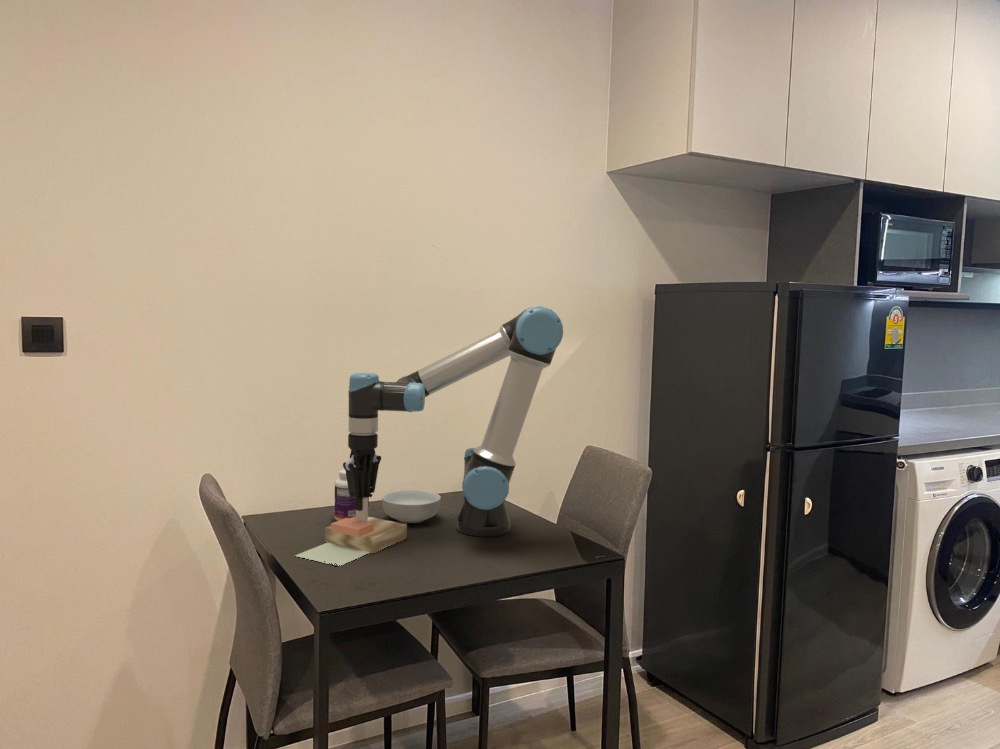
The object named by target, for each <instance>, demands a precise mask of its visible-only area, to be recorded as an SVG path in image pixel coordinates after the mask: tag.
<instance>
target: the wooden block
mask: <svg viewBox="0 0 1000 749" xmlns="http://www.w3.org/2000/svg"><path fill="white" fill-rule="evenodd" d="M350 519H354V520H356V516H355V517H353V518H350ZM368 522H369V523H374V531H373V532H370V533H368V534H365V535H363V536H360V537H355V536H351V535H346V534H342V533H337V532H333V531H331V525H329V526H326V527H325V528H324V543H325V542H326V543H327V542H329V543H333V544H338V545H342V546H346V547H351V548H355V549H360V550H364V551H368V552H371V553H370V554H372V553H375V554H377V553H379V552H381V551H383V550H382V549H384V548H386V547H388V546H390V547H392V546H394V545H396V544H395V543H397V542H399V543H401V542H403V541H405V540H407V539H406V538H407V535H408V532H407V531H408V530H407V529H408V524H407V523H402V522H399V521H393V520H387V519H383V518H378V517H377V518H376V517H373V516H368ZM404 539H405V540H404ZM402 540H403V541H402ZM400 541H401V542H400ZM393 544H394V545H393ZM397 544H398V543H397ZM391 545H392V546H391ZM388 548H389V547H388ZM386 549H387V548H386ZM380 550H381V551H380ZM384 550H385V549H384ZM378 551H379V552H378ZM376 552H377V553H376Z"/></svg>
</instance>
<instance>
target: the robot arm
mask: <svg viewBox="0 0 1000 749" xmlns="http://www.w3.org/2000/svg"><path fill="white" fill-rule="evenodd" d="M563 336H564V325H563V322H562V320H561V318H560V316H559V315H558V314H557V313H556V312H555V311H553V309H550V308H548V307H545V306H539V305H538V306H533V307H528V308H527V309H524V310H523V311H522V312H520V313H519V314H518V315H516V316H514V317H513V318H512V319H510V320H509V321H506V322H505V323H503V324H500V327H499V330H497V331H494V332H492V333H491V334H488V335H487V336H485V337H483V338H481V339H479V340H477V341H474V342H473V343H471V344H469V345H467V346H464V347H462V348H460V349H458V350H456V351H455V352H453V353H450V354H448V355H447V356H444V357H442V358H441V359H438V360H436V361H435V362H432V363H430V364H428V365H426V366H424V367H422V368H420V369H417V371H415V372H412V373H410V374H408V375H405V376H402V377H401V378H399V379H397V381H380V377H379V374H377V373H371V372H357V373H353V374H351V375H350V377H349V381H348V382H349V383H348V385H349V386H348V432H349V434H348V435H347V437H348V438H347V446H348V448H349V449H350V454H349V459H348V460H347V461H346V462H343V463H342V467H343V470H345V471H346V477H347V483H348V490H349V496H351V497H355V509H356V520H359V521H364V522H368V517H369V514H368V512H369V511H368V510H369V508H370V507H369V506H370V504H369V502H370V498H372V497H373V493H375V491H376V486H377V479H378V473H379V467H380V463H381V460H382V456H381V455H377V453H376V449H377V447H378V439H379V438H378V437H379V436H378V433H377V432H379V411H381V412H384V411H385V412H386V411H388V412H390V411H391V412H408V413H413V412H415V413H416V412H422V411H424V409H425V403H426V398H427V397H428V396H430V395H433V394H434V393H437V392H438V391H441V390H442V389H445V388H447V387H448V386H451V385H453V384H455V383H457V382H460V381H461V380H463V379H465V378H467V377H469V376H470V375H473V374H476V373H477V372H479V371H482V370H484V369H485V368H488V367H490V366H492V365H493V364H495V363H498V362H500V361H502V360H504V359H506V358H508V357H510V361H509V363H508V367H507V370H506V373H505V376H504V378H503V381H502V385H501V388H500V390H499V392H498V396H497V399H496V401H495V405H494V407H493V410H492V414H491V416H490V419H489V422H488V425H487V428H486V431H485V434H484V435H483V436H484V437H483V440H482V442H481V445H479V446H477V447H470V448H467V449H465V451H464V457H463V460H464V468H463V469H464V471H463V481H462V483H461V485H462V487H461V488H462V492H463V502H462V506H461V508H460V511H459V514H458V517H457V519H456V520H457V521H456V530H457V529H458V530H457V531H459V532H460V533H462V534H465V535H467V534H468V535H467V536H472V535H473V536H474V537H497V536H502V535H505V534H507V533H509V532H510V530H511V519H510V516H509V513H508V509H507V505H506V498H508V495H509V493H510V482H511V479H512V477H513V473H514V470H515V468H516V467H515V466H516V465H517V463H516V461H515V458H514V452H515V450H516V447H517V444H518V440H519V438H520V435H521V433H522V429H523V426H524V424H525V420H526V418H527V415H528V412H529V408H530V406H531V404H532V400H533V398H534V395H535V392H536V389H537V387H538V383H539V380H540V378H541V375H542V372H543V370H544V369H545V368H548V367H549V366H551V364H552V361H553V358H554V357H555V356H554V355H555V353H556V349H557V348H558V347H559V345H560V344H561V342H562V341H563Z"/></svg>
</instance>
